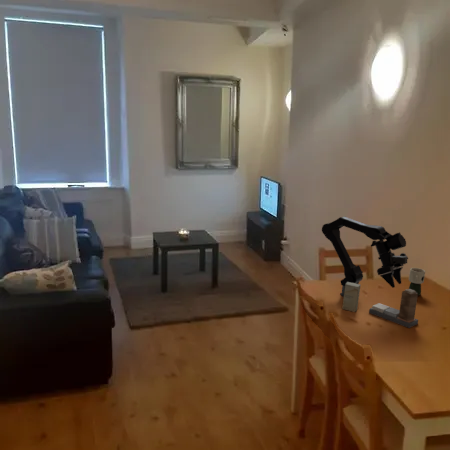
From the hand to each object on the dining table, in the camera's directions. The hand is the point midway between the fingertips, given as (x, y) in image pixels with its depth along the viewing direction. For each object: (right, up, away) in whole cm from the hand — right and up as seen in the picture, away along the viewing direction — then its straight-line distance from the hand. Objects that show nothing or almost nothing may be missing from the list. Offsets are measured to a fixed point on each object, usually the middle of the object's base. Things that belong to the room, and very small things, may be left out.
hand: (397, 285), depth 220 cm
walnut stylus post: (0, -13, -11) cm, 17 cm away
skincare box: (-21, -11, +2) cm, 24 cm away
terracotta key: (0, -15, -10) cm, 18 cm away
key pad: (-4, -14, -6) cm, 15 cm away
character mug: (+18, -8, +26) cm, 33 cm away
